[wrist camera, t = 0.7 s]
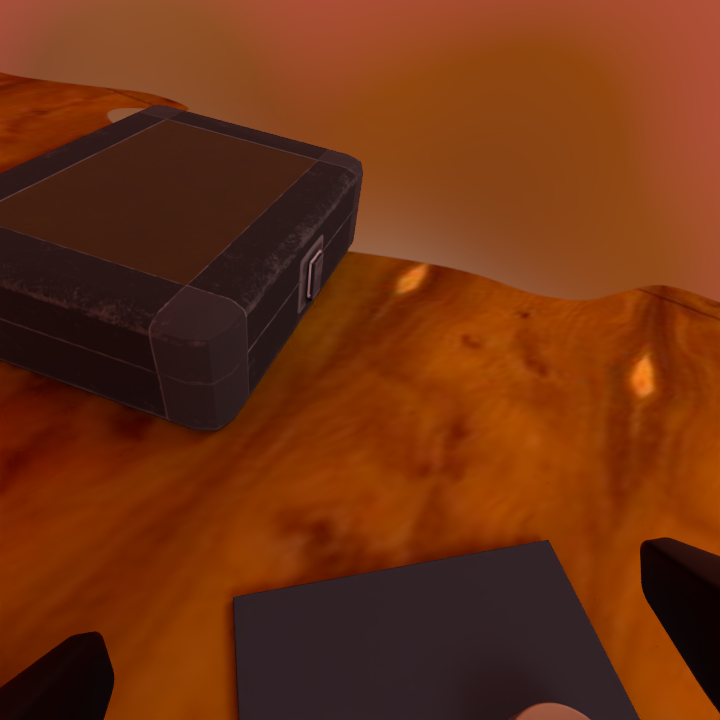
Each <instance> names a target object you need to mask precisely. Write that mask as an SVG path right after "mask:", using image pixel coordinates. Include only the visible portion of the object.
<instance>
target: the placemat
mask: <svg viewBox="0 0 720 720" xmlns="http://www.w3.org/2000/svg"><path fill="white" fill-rule="evenodd" d="M233 609H234V630H235V650H236V671H237V692H238V713H239V720H508V719H510V718H511V717H513V716H514V715H516V714H518V713H520V712H521V711H523V710H525V709H526V708H528V707H530V706H533V705H535V704H539V703H558V704H562V705H566V706H568V707H571V708H573V709H575V710H577V711H579V712H580V713H582V714H584V715H585V716H586V717H588V718H589V719H590V720H640V719H639V717H638V715H637V713H636V711H635V709H634V707H633V705H632V703H631V701H630V699H629V697H628V695H627V693H626V691H625V689H624V687H623V686H622V684H621V682H620V680H619V678H618V676H617V674H616V672H615V670H614V668H613V666H612V664H611V662H610V660H609V658H608V656H607V654H606V652H605V650H604V648H603V646H602V644H601V642H600V640H599V638H598V636H597V634H596V633H595V631H594V629H593V627H592V625H591V623H590V621H589V619H588V617H587V615H586V613H585V611H584V609H583V607H582V605H581V603H580V601H579V599H578V597H577V595H576V593H575V591H574V589H573V587H572V585H571V583H570V582H569V580H568V578H567V576H566V574H565V572H564V570H563V568H562V566H561V564H560V562H559V560H558V558H557V556H556V554H555V552H554V550H553V548H552V546H551V544H550V542H549V540H545V541H539V542H534V543H528V544H523V545H517V546H512V547H506V548H501V549H495V550H490V551H484V552H479V553H473V554H468V555H462V556H457V557H451V558H446V559H440V560H435V561H429V562H424V563H418V564H413V565H407V566H402V567H396V568H391V569H385V570H380V571H374V572H369V573H363V574H358V575H352V576H347V577H341V578H336V579H330V580H325V581H319V582H314V583H308V584H302V585H297V586H291V587H286V588H280V589H275V590H269V591H264V592H258V593H253V594H247V595H242V596H236V597H233Z"/></svg>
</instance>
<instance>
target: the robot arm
mask: <svg viewBox="0 0 720 720" xmlns="http://www.w3.org/2000/svg"><path fill="white" fill-rule="evenodd" d="M640 560H641V584H642V589H643V593H644V595H645V598H646V600H647V601H648V603H649V605H650V606H651V608H652V610H653V611H654V613H655V614H656V616H657V618H658V619H659V621H660V622H661V624H662V626H663V627H664V629H665V630H666V632H667V634H668V635H669V637H670V638H671V640H672V642H673V643H674V645H675V646H676V648H677V650H678V651H679V653H680V654H681V656H682V658H683V659H684V661H685V662H686V664H687V666H688V667H689V669H690V670H691V672H692V674H693V675H694V677H695V678H696V680H697V681H698V683H699V684H700V686H701V687H702V689H703V691H704V692H705V694H706V695H707V696H708V698H709V699H710V700H711V702H712V703H713V705H714V706H715V707H716V709H717V710H718V712H719V713H720V556H717V555H715V554H712V553H709V552H707V551H704V550H701V549H698V548H696V547H693V546H690V545H688V544H685V543H682V542H679V541H677V540H674V539H671V538H665V537H664V538H658V539H652V540H646V541H644V542H643V543H642V544H641V547H640ZM113 686H114V672H113V668H112V665H111V662H110V658H109V655H108V652H107V649H106V646H105V642H104V639H103V637H102V635H101V634H100V633H98V632H95V631H94V632H88V633H82V634H76V635H73V636H70V637H69V638H67V639H66V640H65V641H63V642H62V643H61V644H59V645H58V646H56V647H55V648H54V649H52V650H51V651H50V652H48V653H47V654H46V655H44V656H43V657H41V658H40V659H39V660H37V661H36V662H35V663H33V664H32V665H31V666H29V667H28V668H27V669H25V670H24V671H22V672H21V673H20V674H18V675H17V676H16V677H14V678H13V679H12V680H10V681H9V682H7V683H6V684H5V685H3V686H2V687H1V688H0V720H104V717H105V714H106V710H107V707H108V704H109V701H110V697H111V694H112V691H113Z"/></svg>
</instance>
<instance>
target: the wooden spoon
mask: <svg viewBox="0 0 720 720" xmlns="http://www.w3.org/2000/svg"><path fill="white" fill-rule="evenodd" d="M508 720H590V719H589V718H588V717H586V716H585V715H584V714H582V713H580V712H579V711H577V710H575V709H573V708H571V707H568V706H566V705H562V704H558V703H539V704H535V705H533V706H530V707H528V708H526V709H525V710H523V711H521V712H520V713H518V714H516V715H514V716H513V717H511V718H510V719H508Z"/></svg>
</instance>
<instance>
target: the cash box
mask: <svg viewBox="0 0 720 720" xmlns="http://www.w3.org/2000/svg"><path fill="white" fill-rule="evenodd" d="M362 176H363V170H362V164H361V162H360V161H359V160H357V159H355V158H354V157H352V156H350V155H347V154H344V153H340V152H336V151H333V150H329V149H326V148H322V147H318V146H314V145H311V144H307V143H303V142H299V141H296V140H292V139H288V138H284V137H280V136H277V135H273V134H269V133H266V132H262V131H258V130H254V129H250V128H247V127H243V126H240V125H236V124H232V123H228V122H224V121H221V120H217V119H213V118H210V117H206V116H202V115H198V114H195V113H191V112H187V111H183V110H179V109H176V108H172V107H168V106H161V105H157V106H151V107H149V108H147V109H144V110H142V111H140V112H138V113H135V114H133V115H131V116H128V117H126V118H124V119H122V120H120V121H117V122H115V123H113V124H110V125H108V126H106V127H104V128H101V129H99V130H97V131H95V132H92V133H90V134H88V135H86V136H83V137H81V138H79V139H77V140H74V141H72V142H70V143H68V144H65V145H63V146H61V147H59V148H56V149H54V150H52V151H50V152H47V153H45V154H43V155H41V156H38V157H36V158H34V159H32V160H29V161H27V162H25V163H23V164H20V165H18V166H16V167H14V168H11V169H9V170H7V171H5V172H2V173H0V360H1V361H4V362H6V363H9V364H12V365H15V366H18V367H20V368H23V369H26V370H29V371H32V372H34V373H37V374H40V375H43V376H46V377H48V378H51V379H54V380H57V381H60V382H62V383H65V384H68V385H71V386H73V387H76V388H79V389H82V390H85V391H87V392H90V393H93V394H96V395H99V396H101V397H104V398H107V399H110V400H113V401H115V402H118V403H121V404H124V405H127V406H129V407H132V408H135V409H138V410H140V411H143V412H146V413H149V414H152V415H154V416H157V417H160V418H163V419H166V420H168V421H172V422H174V423H177V424H180V425H183V426H185V427H188V428H191V429H194V430H219V429H220V428H222V427H223V426H225V425H226V424H228V423H229V422H230V421H232V420H233V419H235V417H236V416H237V414H238V413H239V411H240V410H241V408H242V407H243V405H244V404H245V402H246V401H247V399H248V398H249V396H250V395H251V393H252V392H253V390H254V389H255V387H256V386H257V384H258V383H259V381H260V380H261V378H262V377H263V375H264V374H265V372H266V371H267V369H268V368H269V367H270V365H271V364H272V362H273V361H274V359H275V358H276V356H277V355H278V353H279V352H280V350H281V349H282V347H283V346H284V344H285V343H286V341H287V340H288V338H289V337H290V335H291V334H292V332H293V331H294V329H295V328H296V326H297V325H298V323H299V322H300V320H301V319H302V317H303V316H304V314H305V313H306V311H307V310H308V308H309V307H310V305H311V304H312V302H313V301H314V299H315V298H316V296H317V295H318V293H319V292H320V290H321V289H322V287H323V286H324V284H325V283H326V281H327V280H328V278H329V277H330V275H331V274H332V272H333V271H334V269H335V268H336V266H337V265H338V263H339V262H340V260H341V259H342V258H343V256H344V255H345V253H346V251H347V250H348V248H349V247H350V245H351V244H352V242H353V239H354V232H355V225H356V218H357V211H358V203H359V197H360V190H361V183H362Z"/></svg>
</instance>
